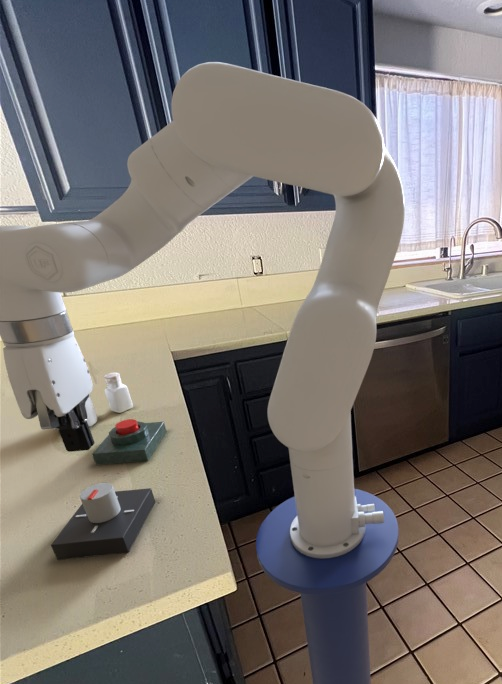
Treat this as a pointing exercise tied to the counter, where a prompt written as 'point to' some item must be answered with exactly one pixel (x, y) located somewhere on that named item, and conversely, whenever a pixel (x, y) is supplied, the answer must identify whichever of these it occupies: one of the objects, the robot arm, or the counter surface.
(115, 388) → the small white square bottle
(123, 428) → the button
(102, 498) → the hob knob
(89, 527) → the panel
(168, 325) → the counter surface
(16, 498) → the counter surface
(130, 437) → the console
